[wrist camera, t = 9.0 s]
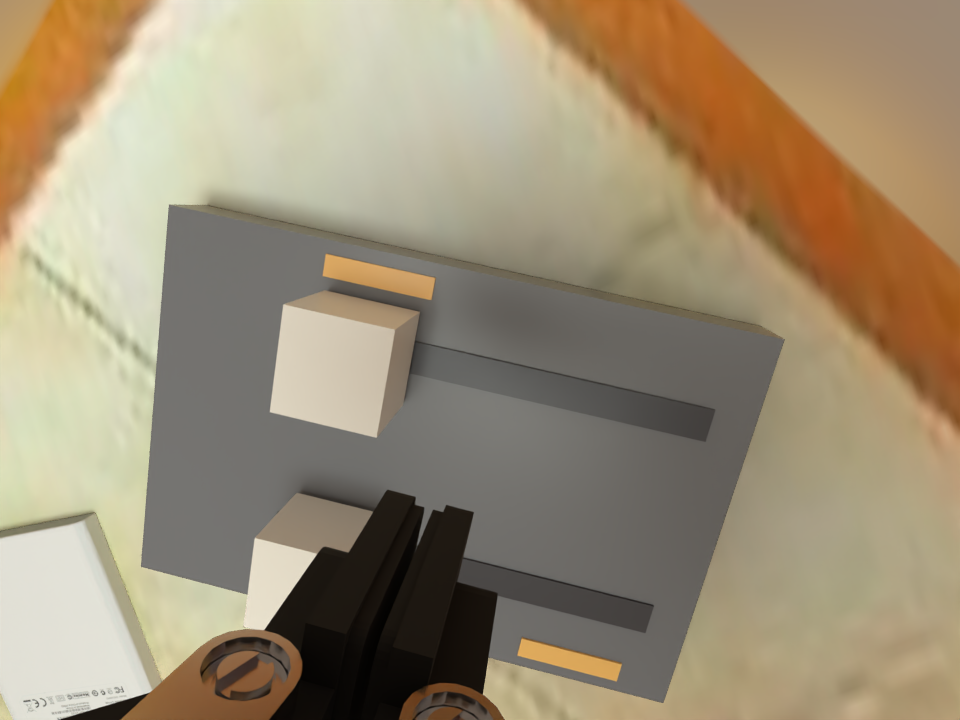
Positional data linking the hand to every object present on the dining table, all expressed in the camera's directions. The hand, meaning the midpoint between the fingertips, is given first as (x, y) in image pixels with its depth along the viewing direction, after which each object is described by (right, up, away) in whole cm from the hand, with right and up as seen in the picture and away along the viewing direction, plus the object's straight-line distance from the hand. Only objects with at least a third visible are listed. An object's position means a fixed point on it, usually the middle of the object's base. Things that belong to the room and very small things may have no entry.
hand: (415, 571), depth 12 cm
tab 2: (-5, -3, +13) cm, 14 cm away
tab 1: (-3, +4, +11) cm, 12 cm away
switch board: (-1, 0, +15) cm, 15 cm away
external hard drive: (-19, -10, +20) cm, 29 cm away
